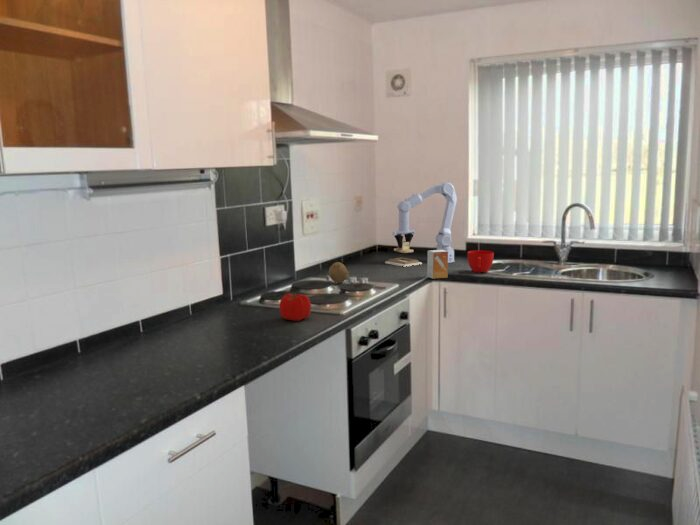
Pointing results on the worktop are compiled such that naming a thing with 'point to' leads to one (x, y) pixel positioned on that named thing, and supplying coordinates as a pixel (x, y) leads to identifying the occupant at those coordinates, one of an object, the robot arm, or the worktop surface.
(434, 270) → the small box
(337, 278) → the coconut
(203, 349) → the worktop surface
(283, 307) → the tomato
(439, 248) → the robot arm
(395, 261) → the keyed base
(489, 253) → the ceramic cup
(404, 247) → the flange block
